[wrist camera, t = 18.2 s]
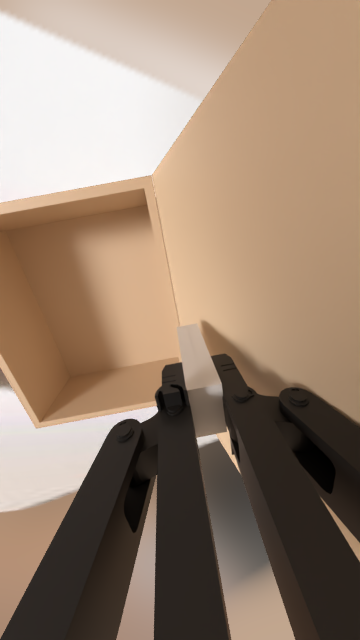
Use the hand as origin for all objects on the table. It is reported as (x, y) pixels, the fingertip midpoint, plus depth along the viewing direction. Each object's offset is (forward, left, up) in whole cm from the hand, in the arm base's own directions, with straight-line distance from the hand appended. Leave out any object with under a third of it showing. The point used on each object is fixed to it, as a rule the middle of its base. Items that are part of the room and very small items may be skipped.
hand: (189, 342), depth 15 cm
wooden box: (0, -10, -17) cm, 20 cm away
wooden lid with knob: (0, +2, +2) cm, 3 cm away
